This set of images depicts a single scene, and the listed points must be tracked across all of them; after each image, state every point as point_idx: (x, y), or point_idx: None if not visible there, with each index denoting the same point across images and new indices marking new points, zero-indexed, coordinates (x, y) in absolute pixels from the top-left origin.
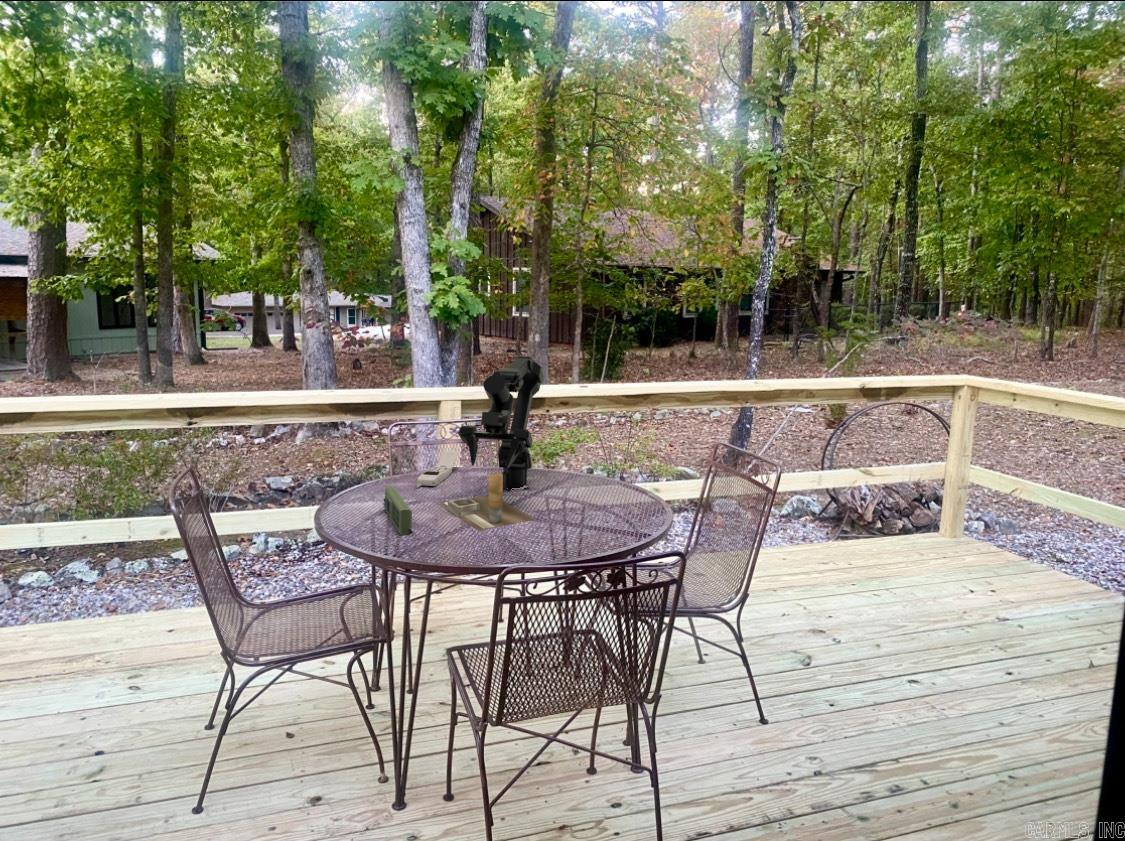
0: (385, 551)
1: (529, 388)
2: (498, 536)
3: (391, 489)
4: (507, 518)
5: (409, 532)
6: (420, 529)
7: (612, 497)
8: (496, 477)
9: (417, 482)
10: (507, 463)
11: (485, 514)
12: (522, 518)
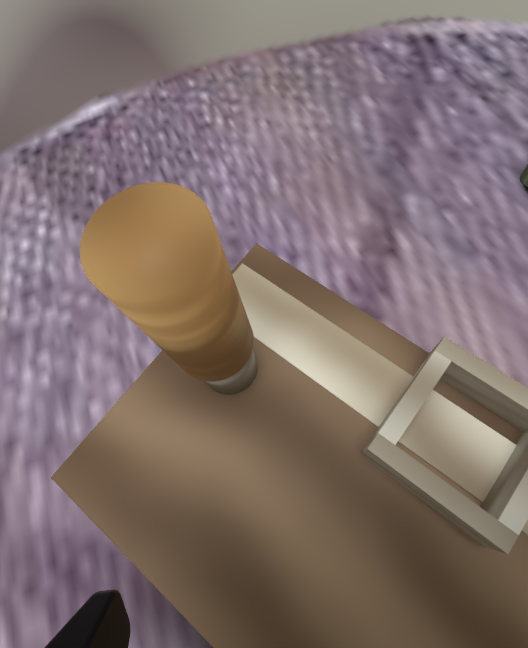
0: (478, 48)
1: None
2: None
3: None
4: (189, 433)
5: (523, 173)
6: (518, 232)
7: None
8: (124, 196)
9: None
10: (81, 626)
11: (320, 446)
12: (117, 464)
